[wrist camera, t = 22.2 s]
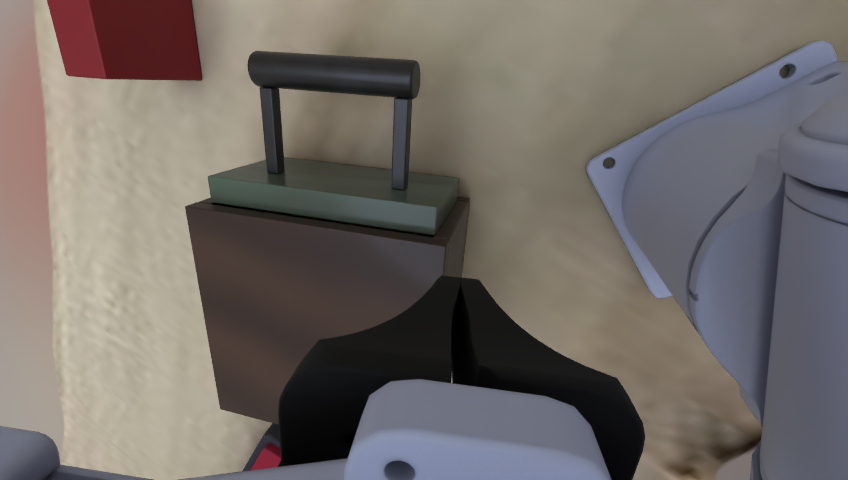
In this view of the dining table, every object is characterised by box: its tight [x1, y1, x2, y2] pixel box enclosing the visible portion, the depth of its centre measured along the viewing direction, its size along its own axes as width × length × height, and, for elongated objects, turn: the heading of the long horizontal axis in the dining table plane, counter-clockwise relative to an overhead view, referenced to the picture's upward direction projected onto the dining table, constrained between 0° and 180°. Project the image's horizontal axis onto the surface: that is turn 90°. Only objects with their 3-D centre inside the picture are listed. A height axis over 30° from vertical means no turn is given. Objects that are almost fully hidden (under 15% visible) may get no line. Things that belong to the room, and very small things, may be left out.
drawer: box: [208, 51, 459, 238], centre depth 19 cm, size 16×10×5 cm, turn 177°
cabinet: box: [185, 197, 470, 425], centre depth 21 cm, size 11×11×7 cm
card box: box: [47, 0, 202, 80], centre depth 19 cm, size 5×2×6 cm, turn 177°
